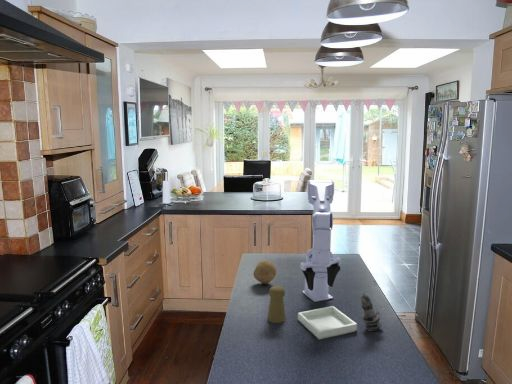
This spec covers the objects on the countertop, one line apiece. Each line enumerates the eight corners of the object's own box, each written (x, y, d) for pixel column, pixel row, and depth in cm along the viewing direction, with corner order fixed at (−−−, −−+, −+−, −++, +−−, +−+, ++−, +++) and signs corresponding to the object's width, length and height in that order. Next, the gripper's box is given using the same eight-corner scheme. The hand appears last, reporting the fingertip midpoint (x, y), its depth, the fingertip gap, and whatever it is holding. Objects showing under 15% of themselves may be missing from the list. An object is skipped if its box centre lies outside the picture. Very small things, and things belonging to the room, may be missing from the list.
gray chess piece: (376, 317, 130) (367, 285, 127) (386, 326, 124) (376, 293, 121) (360, 324, 129) (351, 293, 126) (369, 334, 124) (359, 301, 121)
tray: (297, 319, 132) (297, 312, 132) (332, 312, 138) (333, 305, 137) (319, 339, 120) (319, 332, 120) (356, 331, 125) (357, 323, 125)
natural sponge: (278, 287, 158) (279, 263, 157) (257, 289, 156) (257, 265, 155) (273, 279, 167) (273, 256, 165) (252, 281, 165) (252, 257, 163)
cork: (264, 316, 135) (264, 285, 133) (280, 313, 137) (280, 282, 135) (272, 324, 129) (272, 292, 127) (288, 321, 132) (289, 289, 130)
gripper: (308, 254, 124) (307, 295, 127) (347, 249, 130) (345, 288, 132) (297, 248, 131) (296, 287, 133) (334, 243, 136) (333, 280, 139)
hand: (320, 287), depth 133 cm, fingers open, 7 cm apart
